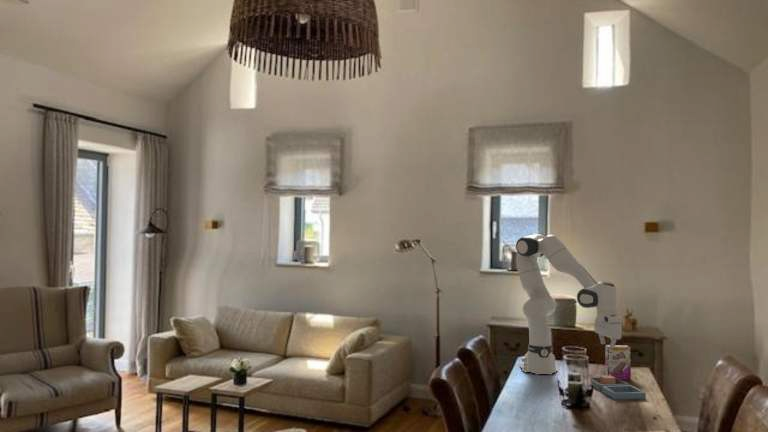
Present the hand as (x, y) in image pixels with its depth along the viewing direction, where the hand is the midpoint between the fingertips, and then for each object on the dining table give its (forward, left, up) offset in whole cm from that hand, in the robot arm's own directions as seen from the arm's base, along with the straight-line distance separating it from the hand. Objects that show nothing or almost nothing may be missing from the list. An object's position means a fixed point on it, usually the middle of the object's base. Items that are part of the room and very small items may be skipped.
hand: (607, 345), depth 273 cm
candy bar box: (-14, +12, -20) cm, 27 cm away
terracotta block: (0, 0, -20) cm, 20 cm away
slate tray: (+14, 0, -19) cm, 24 cm away
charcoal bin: (0, 0, -19) cm, 19 cm away
